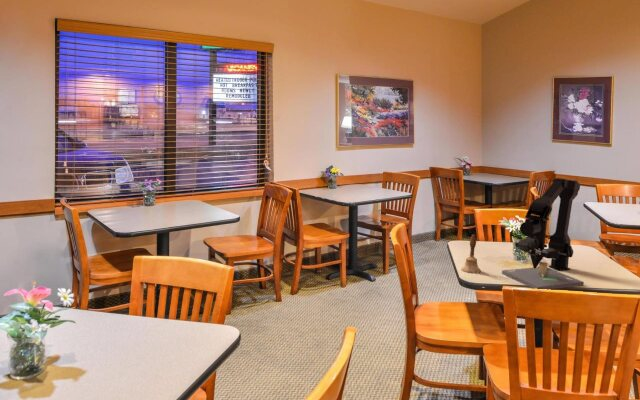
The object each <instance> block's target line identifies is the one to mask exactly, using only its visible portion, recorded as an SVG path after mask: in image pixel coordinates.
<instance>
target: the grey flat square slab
mask: <svg viewBox="0 0 640 400" xmlns="http://www.w3.org/2000/svg"><path fill="white" fill-rule="evenodd" d="M501 274H502V275H503V276H506V277H507V278H509V279H512V280H514V281H516V282H519V283H520V284H523V285H525V286H527V287H528V288H531V289H533V288H537V289H547V290H553V289H565V288H572V287H573V288H574V287H583V286H584V284H585V283H584V282H585V281H582V280H580V279H578V278H575V277H573V276H569V275H567V274H564V273H562V272H560V271H558V270H556V269H553V268H551V267H547V275H545V276H544V277H542V275H540V274H539V268H538V266H537V267H536V268H533V267H524V268H516V269H504V270H501Z"/></svg>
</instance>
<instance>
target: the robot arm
mask: <svg viewBox="0 0 640 400" xmlns="http://www.w3.org/2000/svg"><path fill="white" fill-rule="evenodd" d="M580 188H581V184H580V183H579V182H578V180H575V179H574V180H573V179H566V178H562V177H555V178H553V180H552V182H551V184H550V185H549V187H548V188H547V189H546V191H545V192H544V193H543V194H542V196H541V197H537V198H535V199H534V200H533V201H532V202H531V204H530V205H529V206H528V209H527V211H526V214H525V216H524V218H525V220H524V221H523V222H522V223H521V225H520V226H519V231H520V233H521V235H523V236H525V237H526V238H523V239H517V240H516V242H515V247H516V248H518V250H520V251H522V252H525V253H527V254H528V255H529V256H530V260H531V264H532V268H536V267H538V264H540V262H542V260H543V259H544V258H545V259H549V260H551V261H550V265H548V268H550V269H552V270H555V271H558V272H560V271H569V270H571V268H570V267H569V259H570V258H572V257H573V255H574V250H573V247H572V245H571V241H572V240H571V238H570V236H569V233H568V231H569V227H570V220H571V213H572V206H573V201H574V200H575V198H577V196H578V194H579V192H580V190H581V189H580ZM557 198H559V207H558V214H557V218H556V220H557V221H556V225H555V231H554V233H553V234H552V235H550V236H549V235H548V234H547V228H548V221H550V218H549V217H550V215H551V213H552V211H553V204H554V202H555V201H556V200H557ZM546 238H547V239H548V238H549V241H548V244H546ZM547 247H548V248H547Z"/></svg>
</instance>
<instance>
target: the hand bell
mask: <svg viewBox="0 0 640 400" xmlns="http://www.w3.org/2000/svg"><path fill="white" fill-rule="evenodd" d="M476 245H477V238H476V234H471V237H470V240H469V246H470V252H469V256H467V257H466V258H465V263H464V265H463V266H461V268H460V270H461V271H462V272H465V273H470V274H479V273H481V271H482V270H481V269H480V267H479V266H478V259H477V258H476V257H475V247H476Z"/></svg>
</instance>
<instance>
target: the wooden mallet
mask: <svg viewBox="0 0 640 400" xmlns="http://www.w3.org/2000/svg"><path fill="white" fill-rule="evenodd" d="M537 267H538V268H539V274H540V275H542V277H544V276H545V275H547V268H548V262H544V261H540V263H539V264H538V266H537Z"/></svg>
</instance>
